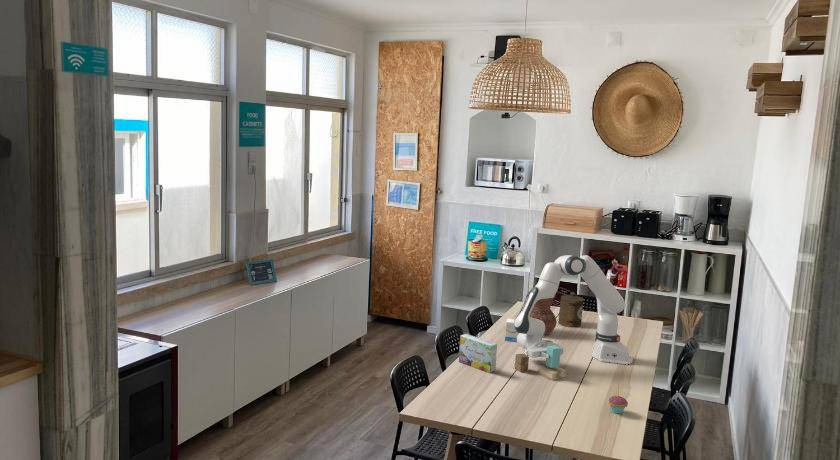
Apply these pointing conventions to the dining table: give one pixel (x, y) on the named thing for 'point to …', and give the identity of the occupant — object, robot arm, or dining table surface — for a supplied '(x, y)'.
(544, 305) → the jug
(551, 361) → the teal block
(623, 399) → the cupcake
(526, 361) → the walnut block
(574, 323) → the wooden container
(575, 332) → the dining table surface
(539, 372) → the oak base block
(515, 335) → the ink box
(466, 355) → the snack box
